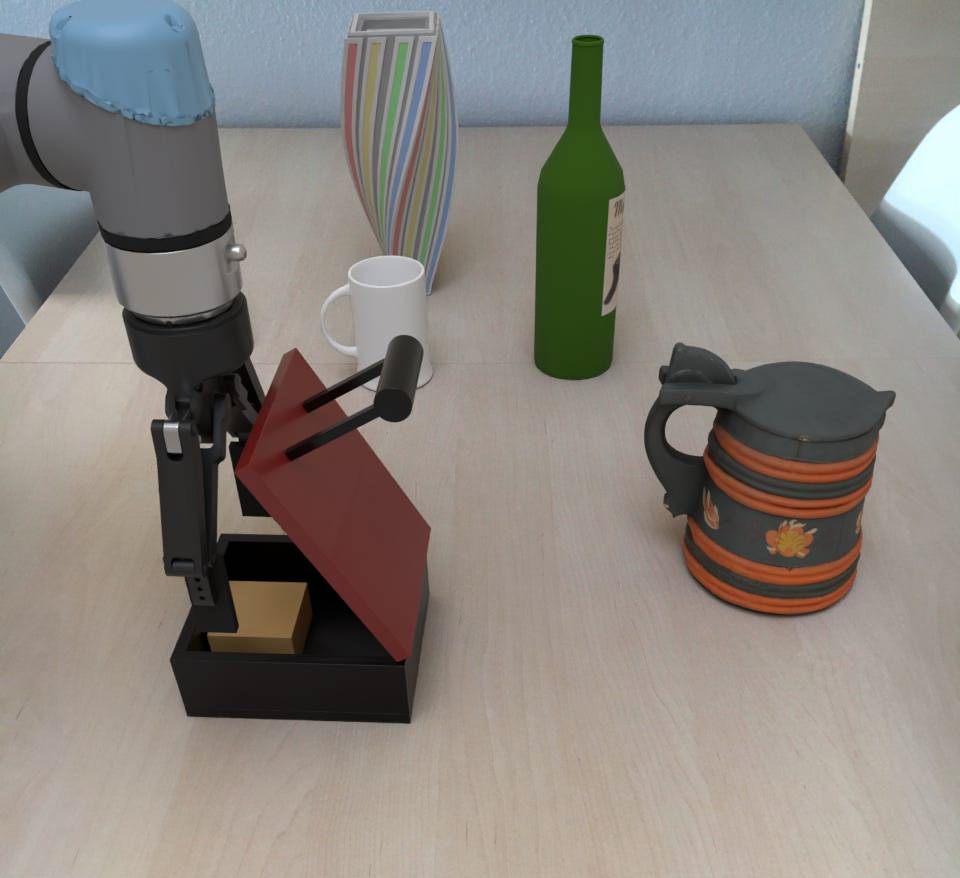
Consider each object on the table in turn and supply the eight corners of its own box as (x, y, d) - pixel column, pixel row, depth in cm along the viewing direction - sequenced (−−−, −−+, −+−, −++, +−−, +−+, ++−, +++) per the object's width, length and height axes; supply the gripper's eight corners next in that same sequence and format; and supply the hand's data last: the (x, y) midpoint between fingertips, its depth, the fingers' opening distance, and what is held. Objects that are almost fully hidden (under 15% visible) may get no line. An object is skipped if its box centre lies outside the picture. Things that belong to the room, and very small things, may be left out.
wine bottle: (607, 383, 113) (632, 52, 91) (527, 376, 114) (532, 49, 92) (616, 345, 119) (641, 27, 97) (540, 339, 121) (547, 25, 98)
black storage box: (187, 716, 77) (169, 659, 73) (233, 588, 88) (220, 533, 84) (410, 723, 76) (404, 666, 72) (429, 593, 87) (425, 537, 83)
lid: (233, 473, 62) (377, 398, 58) (282, 354, 73) (406, 284, 69) (396, 662, 72) (529, 611, 68) (419, 533, 83) (534, 482, 79)
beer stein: (636, 615, 85) (660, 400, 71) (629, 510, 95) (648, 306, 82) (870, 621, 84) (939, 404, 70) (836, 515, 94) (891, 308, 81)
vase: (356, 312, 127) (326, 38, 106) (361, 267, 137) (335, 8, 116) (465, 308, 127) (456, 34, 107) (462, 263, 137) (454, 5, 116)
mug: (327, 397, 112) (312, 292, 104) (329, 360, 118) (315, 258, 110) (434, 391, 112) (428, 285, 104) (431, 354, 119) (425, 251, 110)
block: (215, 668, 80) (206, 635, 77) (235, 613, 84) (227, 580, 82) (298, 670, 79) (291, 637, 77) (313, 615, 84) (307, 582, 82)
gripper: (189, 405, 53) (253, 689, 68) (284, 219, 71) (319, 475, 86) (48, 402, 53) (142, 684, 68) (178, 217, 72) (230, 472, 86)
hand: (241, 568), depth 77 cm, fingers open, 13 cm apart
